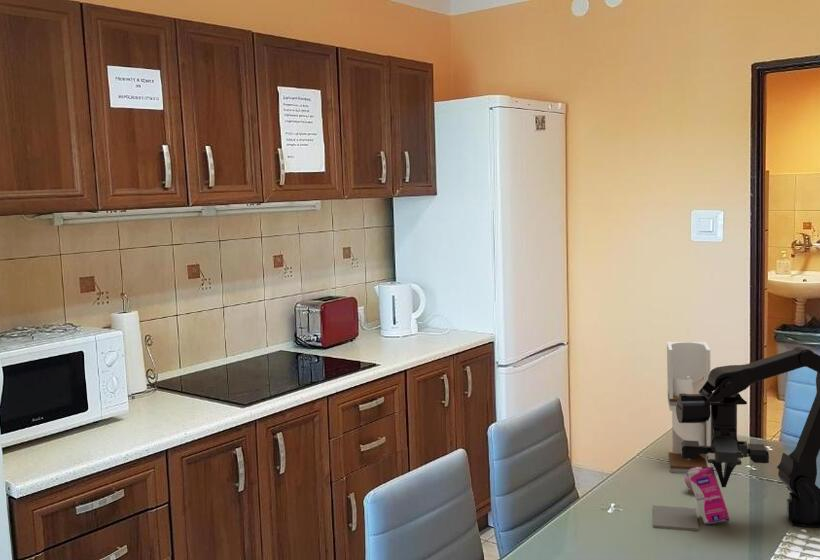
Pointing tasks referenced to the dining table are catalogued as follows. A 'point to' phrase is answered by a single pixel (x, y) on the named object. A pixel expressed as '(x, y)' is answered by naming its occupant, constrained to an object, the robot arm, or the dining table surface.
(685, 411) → the robot arm
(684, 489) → the dining table surface
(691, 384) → the display case
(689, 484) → the video game controller
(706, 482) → the supplement box
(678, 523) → the rubber mat
